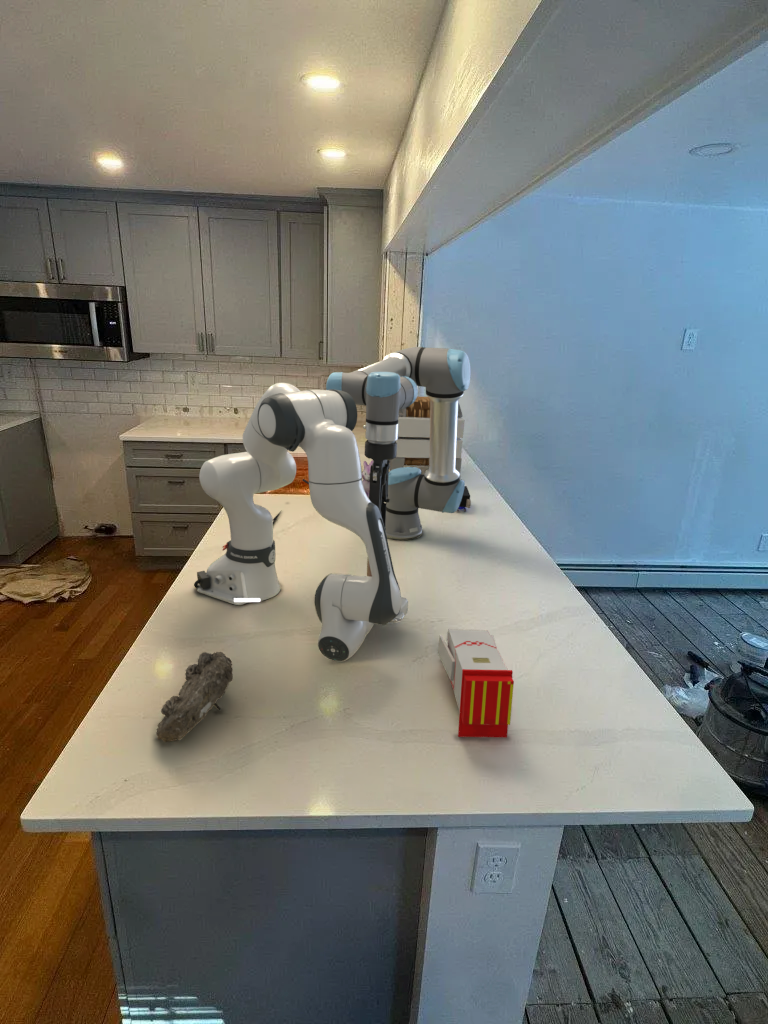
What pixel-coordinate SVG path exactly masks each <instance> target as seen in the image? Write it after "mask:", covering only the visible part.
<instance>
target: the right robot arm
mask: <svg viewBox="0 0 768 1024" xmlns="http://www.w3.org/2000/svg"><path fill="white" fill-rule="evenodd" d="M471 373H472V372H471V362H470V357H469V355H468V354H467V353H466V352H465V351H464V350H461V349H455V348H448V347H447V348H446V347H445V348H444V347H427V346H426V347H425V346H424V347H423V346H412V347H406V348H403V349H400V350H399V349H398V350H396V351H392V352H390V353H389V354H387V355H385V356H384V357H383V359H382V360H380V361H377V362H374V363H372V364H369V365H367V366H364V367H362V368H359V369H356V370H354V371H351V372H343V371H340V372H339V371H337V372H335V371H333V372H332V373H330V374H329V376H328V377H327V380H326V384H325V390H330V389H335V390H340V391H344V392H346V393H348V394H349V395H350V396H351V397H352V398H353V400H354V402H355V404H356V406H365V424H364V425H363V426H362V429H363V430H365V435H364V437H365V439H366V440H365V442H364V457H366V458H367V459H370V460H371V461H372V460H373V461H374V462H373V465H371V468H370V473H369V476H370V487H369V500H370V501H371V503H373V504H375V505H376V506H377V507H378V508H379V511H380V513H381V516H382V520H383V523H384V525H385V526H386V527H385V528H386V536H387V539H389V540H395V541H410V540H415V539H418V538H420V537H421V536H422V535H423V525H422V524H421V518H420V515H419V509H422V510H427V511H433V512H439V513H442V514H443V513H447V514H454V513H456V512H458V511H457V509H458V507H459V505H460V502H461V499H462V496H463V492H464V487H465V486H466V483H465V480H463V479H461V474H459V472H458V471H457V470H456V469H455V462H456V440H457V417H458V402H459V399H461V398H462V397H463V396H464V393H465V391H467V390H468V389H469V387H470V383H471V376H472V375H471ZM418 387H421V388H423V387H424V388H425V395H426V397H429V398H430V400H431V401H430V453H429V465H428V469H426V470H425V471H424V473H422V469H421V468H419V467H417V466H404V467H403V468H397V469H393V470H391V471H390V467H389V463H390V461H389V460H391V459H394V458H395V457H396V455H397V443H396V442H395V441H396V440H397V439H398V416H399V410H400V409H404V408H407V407H409V406H410V405H411V404H412V403H413V402H414V401H415V400H416V398H417V396H418V394H419V389H418ZM459 477H460V480H459ZM302 482H303V483H305V484H307V485H309V480H306V479H305V478H302Z"/></svg>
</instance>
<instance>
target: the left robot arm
mask: <svg viewBox="0 0 768 1024" xmlns="http://www.w3.org/2000/svg"><path fill="white" fill-rule="evenodd" d="M357 422H358V409H357V405H356V404H355V402H354V400H353V398H352V397H351V396H350V395H349V394H348V393H346V392H344V391H340V390H335V389H330V390H326V389H304V390H300V389H299V388H298V387H296V386H295V385H293V384H291V383H288V382H276V383H274V384H272V385H271V386H269V387H268V388H267V389H266V390H265V392H264V393H263V394H262V396H261V397H260V398H259V400H258V401H257V403H256V404H255V406H254V408H253V411H252V412H251V415H250V416H249V419H248V421H247V424H246V426H245V427H244V428H245V429H244V430H243V433H242V444H243V447H244V449H245V451H242V452H235V453H228V454H222V455H219V456H215V457H212V458H210V459H208V460H206V461H204V462H203V464H202V465H201V467H200V471H199V475H198V477H199V485H200V487H201V489H202V490H203V492H204V493H205V494H206V495H207V496H208V497H210V498H211V499H213V500H214V501H216V502H217V503H219V504H220V505H221V506H222V508H223V509H224V511H225V513H226V515H227V518H228V523H229V531H230V540H229V541H227V542H226V544H224V545H223V546H222V547H221V548H222V551H225V550H226V552H225V553H224V554H222V555H221V556H219V557H218V558H217V559H215V560H214V561H213V562H212V563H211V564H210V565H209V566H208V567H207V570H201V571H196V577H197V578H196V579H197V580H195V581H194V583H193V586H194V588H195V589H196V591H197V593H200V594H203V595H205V596H208V597H212V598H213V599H217V600H221V601H223V602H225V603H229V604H232V605H235V606H241V605H246V604H248V603H260V602H262V601H266V600H268V599H271V598H273V597H275V596H277V595H278V594H279V592H280V591H281V583H280V581H279V578H278V573H277V568H276V540H274V525H273V519H274V517H273V515H272V513H271V512H270V511H269V509H268V508H266V507H264V506H262V505H259V504H257V503H255V502H254V501H255V500H254V495H256V494H261V493H266V492H271V491H276V490H279V489H281V488H285V487H286V486H289V485H290V484H292V483H293V482H294V480H295V478H296V475H297V464H296V460H295V458H294V456H293V455H292V454H291V453H290V452H293V453H294V452H296V450H297V449H298V447H299V448H300V449H302V450H303V451H304V453H305V455H306V458H307V469H308V470H307V472H308V482H309V484H308V489H309V498H310V501H311V505H312V507H313V508H314V510H315V511H316V512H317V513H318V514H319V515H320V516H321V517H322V518H323V519H325V520H327V521H329V522H330V523H332V524H335V525H338V526H340V527H342V528H344V529H346V530H348V531H350V532H352V533H353V534H355V535H356V536H357V537H358V538H359V539H360V540H361V541H362V542H363V545H364V547H365V550H366V555H367V556H368V560H369V565H370V569H371V574H372V577H371V576H367V575H355V574H349V573H348V574H346V573H329V574H327V575H325V577H324V578H323V579H321V581H320V582H319V584H318V586H317V588H316V590H315V593H314V597H313V598H314V600H313V601H314V602H313V603H314V608H315V612H316V616H317V617H318V619H319V622H320V623H321V627H320V632H319V635H318V638H317V648H318V650H319V652H320V653H321V655H323V656H324V657H325V658H326V659H328V660H331V661H335V662H344V661H347V660H349V659H350V658H352V657H353V656H354V654H356V652H357V651H358V650H359V649H360V648H361V646H362V644H363V643H364V641H365V638H366V636H367V635H368V634H369V633H370V631H371V630H372V628H373V627H374V625H375V624H376V625H380V626H385V625H388V624H389V623H391V624H395V623H399V622H402V621H403V619H404V617H405V616H406V615H407V614H408V611H409V599H407V597H403V596H402V593H401V589H400V585H399V582H398V579H397V576H396V572H395V568H394V565H393V564H394V563H393V559H392V556H391V555H392V554H391V551H390V546H389V541H388V538H387V536H386V532H385V528H384V523H383V520H382V516H381V513H380V511H379V508H378V507H377V506H376V505H375V504H373V503H371V501H370V500H369V498H368V497H367V495H366V493H365V490H364V487H363V483H362V481H363V478H362V472H363V470H362V462H361V461H362V460H361V455H360V450H359V446H358V442H357V437H356V435H355V433H354V432H353V431H354V429H355V428H356V426H357ZM367 556H366V557H367Z"/></svg>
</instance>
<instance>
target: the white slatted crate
mask: <svg viewBox="0 0 768 1024" xmlns="http://www.w3.org/2000/svg"><path fill="white" fill-rule="evenodd" d="M430 401H431V400H430V398H429V397H428V396H418V395H417V398H416V400H415V401H414V402H413V403H412V404H411V405H410V406H409V407H407V408H404V409H400V410H399V416H398V439H397V440H396V441H395V442H396V443H397V455H396V457H395V458H394V459H391V460H389V461H390V463H389V472H390V471H391V470H393V469H397V468H403V467H405V466H406V467H417V466H418V467H429V453H430ZM464 429H465V419H464V418H463V411H462V408H461V405H460V402H459V401H458V417H457V440H456V462H455V469H456V470H457V471H458V472H459V474H460V475H461V472H462V461H463V460H462V453H463V442H464V441H463V440H462V439H463V438H464V431H465V430H464ZM459 480H461V476H460V477H459Z"/></svg>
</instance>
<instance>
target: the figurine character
mask: <svg viewBox="0 0 768 1024" xmlns="http://www.w3.org/2000/svg"><path fill="white" fill-rule="evenodd" d="M471 501H472V500H471V494H470V491H469V488H468V486H467V485H465V487H464V492H463V496H462V499H461V502H460V505H459V507H458V509H457V511H456V512H460V510H463V511H464V513H466V512H467V509H470V508H471V505H472V504H471ZM466 508H467V509H466Z"/></svg>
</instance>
